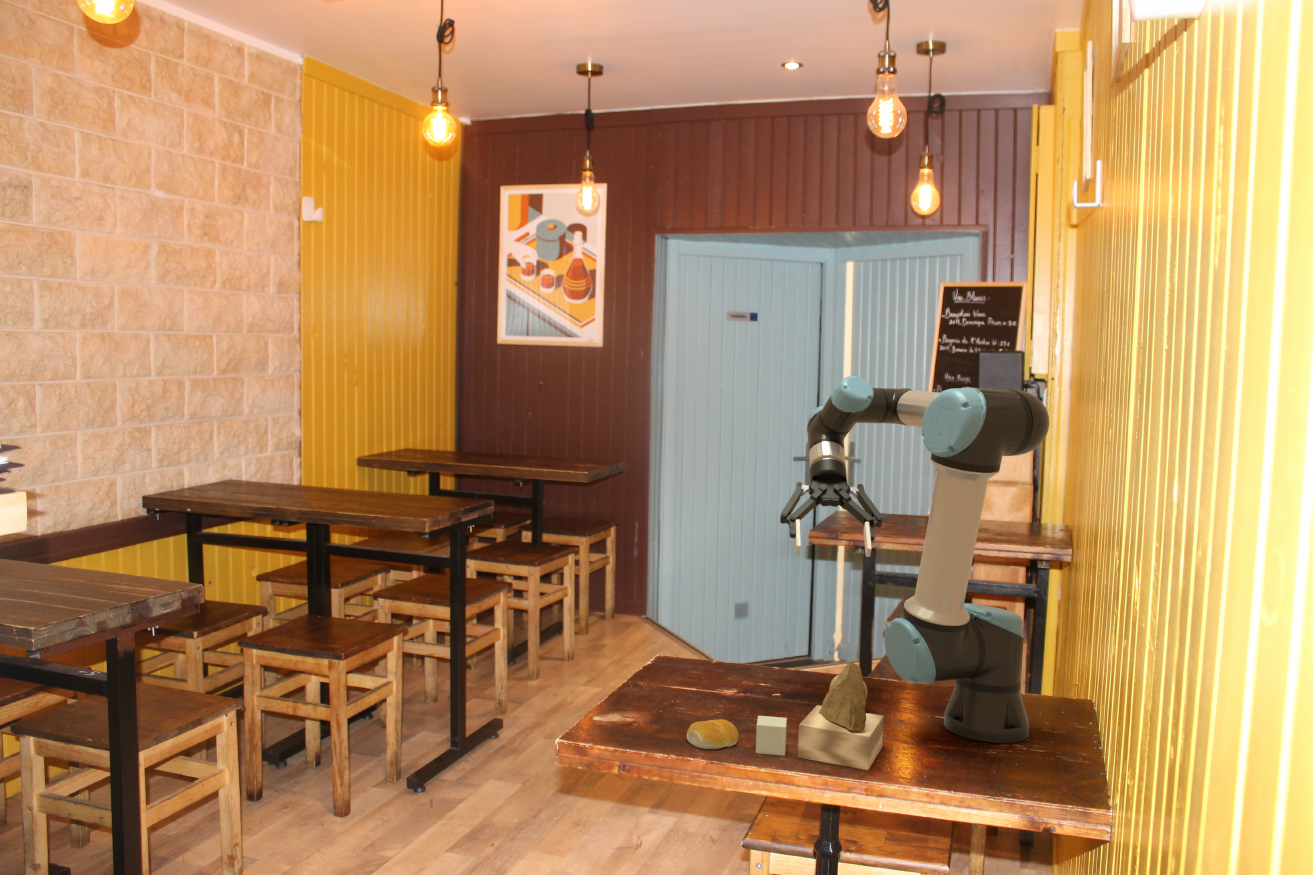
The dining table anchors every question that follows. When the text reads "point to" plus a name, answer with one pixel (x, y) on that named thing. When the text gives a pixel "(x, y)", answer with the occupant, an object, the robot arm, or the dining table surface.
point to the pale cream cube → (771, 735)
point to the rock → (847, 700)
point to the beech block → (840, 741)
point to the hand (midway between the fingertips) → (833, 551)
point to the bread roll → (712, 734)
